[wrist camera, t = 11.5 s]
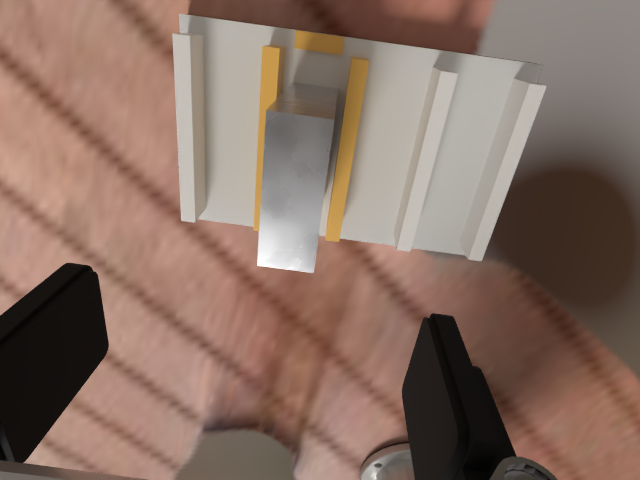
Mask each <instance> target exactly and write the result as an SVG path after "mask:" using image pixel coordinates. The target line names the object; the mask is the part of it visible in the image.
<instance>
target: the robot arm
mask: <svg viewBox="0 0 640 480" xmlns="http://www.w3.org/2000/svg"><path fill="white" fill-rule="evenodd" d="M108 346H109V344H108V337H107V330H106V324H105V317H104V311H103V305H102V298H101V292H100V285H99V279H98V275H97V273H96V272H94V271H93V270H92V268H91V267H90V266H88V265H81V264H74V263H66V264H64V265H63V266H61V267H60V268H59V269H58V270H56V271H55V272H54V273H53V274H52V275H50V276H49V277H48V278H47V279H45V280H44V281H43V282H42V283H40V284H39V285H38V286H37V287H35V288H34V289H33V290H32V291H30V292H29V293H28V294H27V295H25V296H24V297H23V298H22V299H20V300H19V301H18V302H17V303H15V304H14V305H13V306H12V307H10V308H9V309H8V310H7V311H5V312H4V313H3V314H2V315H0V480H146V479H139V478H132V477H124V476H117V475H109V474H102V473H94V472H86V471H79V470H71V469H64V468H56V467H48V466H41V465H33V464H26V463H23V462H25V461H26V460H27V458H28V457H29V456H30V455H31V453H32V452H33V451H34V449H35V448H36V447H37V445H38V444H39V443H40V441H41V440H42V439H43V437H44V436H45V435H46V434H47V432H48V431H49V430H50V428H51V427H52V426H53V424H54V423H55V422H56V420H57V419H58V418H59V416H60V415H61V414H62V412H63V411H64V410H65V408H66V407H67V406H68V405H69V403H70V402H71V401H72V399H73V398H74V397H75V395H76V394H77V393H78V391H79V390H80V389H81V387H82V386H83V385H84V383H85V382H86V381H87V379H88V378H89V377H90V375H91V374H92V373H93V372H94V370H95V369H96V368H97V366H98V365H99V364H100V362H101V361H102V360H103V358H104V357H105V355H106V353H107V351H108ZM402 399H403V406H404V412H405V419H406V425H407V432H408V438H409V443H404V444H398V445H393V446H390V447H387V448H384V449H382V450H380V451H378V452H376V453H374V454H373V455H372V456H371V457H369V458H368V459H367V460H366V461H365V463H364V464H363V465H362V468H361V470H360V480H557V478H556V477H555V476H554V475H553V474H552V473H550V472H549V471H548V470H547V469H546V468H544V467H543V466H541V465H540V464H538V463H536V462H534V461H533V460H529V459H526V458H523V457H517V456H516V454H515V451H514V449H513V446H512V444H511V442H510V439H509V437H508V434H507V432H506V429H505V427H504V424H503V422H502V419H501V417H500V414H499V412H498V409H497V407H496V404H495V402H494V399H493V397H492V395H491V392H490V390H489V387H488V385H487V382H486V380H485V377H484V375H483V373H482V371H481V369H480V368H478V367H475V366H472V364H471V361H470V358H469V356H468V353H467V350H466V348H465V345H464V343H463V340H462V337H461V335H460V332H459V329H458V327H457V324H456V322H455V319H454V317H453V316H449V315H442V314H434V313H433V314H431V316H430V318H426V317H425V318H424V319H423V321H422V324H421V328H420V331H419V334H418V337H417V341H416V344H415V347H414V350H413V354H412V357H411V360H410V363H409V367H408V370H407V373H406V376H405V380H404V383H403V388H402Z"/></svg>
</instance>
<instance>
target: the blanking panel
mask: <svg viewBox="0 0 640 480" xmlns="http://www.w3.org/2000/svg"><path fill="white" fill-rule="evenodd" d="M337 93H338V88H330V87H323V86H316V85H309V84H302V83H294V82H292V83H291V85H290V86H289V87H288V88H287V89H286V90H285V91H284V92H283V93H282V94H281V95H280V96H279V97H278V98H277V99H276V100H275V101H274V102H273V103H272V104H271V106H270V107H269V108H268V109H267V110H266V119H265V137H264V155H263V172H262V190H261V208H260V226H259V243H258V261H257V266H264V267H272V268H279V269H287V270H294V271H302V272H309V273H314V266H315V258H316V251H317V244H318V236H319V229H320V222H321V215H322V207H323V200H324V193H325V186H326V178H327V171H328V164H329V156H330V149H331V142H332V135H333V127H334V120H335V111H336V102H337Z"/></svg>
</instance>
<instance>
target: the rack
mask: <svg viewBox="0 0 640 480" xmlns="http://www.w3.org/2000/svg"><path fill="white" fill-rule="evenodd" d="M179 25H180V33H173V54H174V76H175V97H176V118H177V139H178V161H179V182H180V203H181V221H187V222H196V221H197V220H198V219H201V220H208V221H216V222H223V223H230V224H238V225H245V226H253V227H254V228H253V230H254V231H259V226H260V208H261V190H262V172H263V155H264V137H265V119H266V110H267V109H268V108H269V107H270V106H271V104H272V103H273V102H274V101H275V100H276V99H277V98H278V97H279V96H280V95H281V94H282V93H283V92H284V91H285V90H286V89H287V88H288V87H289V86H290V85H291V83H292V82H294V83H302V84H309V85H316V86H323V87H330V88H338V93H337V102H336V111H335V120H334V127H333V135H332V142H331V149H330V156H329V164H328V171H327V178H326V186H325V193H324V200H323V207H322V215H321V222H320V229H319V236H325V240H328V241H335V242H339V239H340V238H341V239H349V240H356V241H363V242H371V243H378V244H385V245H393V246H396V249H397V250H401V251H409V252H410V251H411V248H415V249H422V250H430V251H438V252H444V253H452V254H459V255H466V257H467V259H468V260H475V261H482V259H483V256H484V253H485V251H486V248H487V245H488V243H489V240H490V237H491V235H492V232H493V229H494V227H495V224H496V221H497V219H498V216H499V213H500V210H501V208H502V205H503V203H504V200H505V197H506V194H507V192H508V189H509V186H510V184H511V181H512V178H513V176H514V173H515V170H516V167H517V165H518V162H519V160H520V157H521V154H522V151H523V149H524V146H525V143H526V141H527V138H528V135H529V133H530V130H531V127H532V125H533V122H534V119H535V117H536V114H537V111H538V108H539V106H540V103H541V100H542V98H543V95H544V92H545V89H546V87H547V86H545V85H542V84H538V83H537V80H538V78H539V75H540V72H541V69H542V67H543V65H541V64H536V63H530V62H522V61H515V60H508V59H501V58H494V57H487V56H480V55H473V54H466V53H459V52H451V51H444V50H437V49H430V48H423V47H416V46H409V45H402V44H395V43H387V42H380V41H373V40H366V39H359V38H352V37H345V36H338V35H331V34H323V33H316V32H309V31H302V30H295V29H288V28H281V27H274V26H267V25H259V24H252V23H245V22H238V21H231V20H224V19H217V18H210V17H203V16H195V15H188V14H179Z"/></svg>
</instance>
